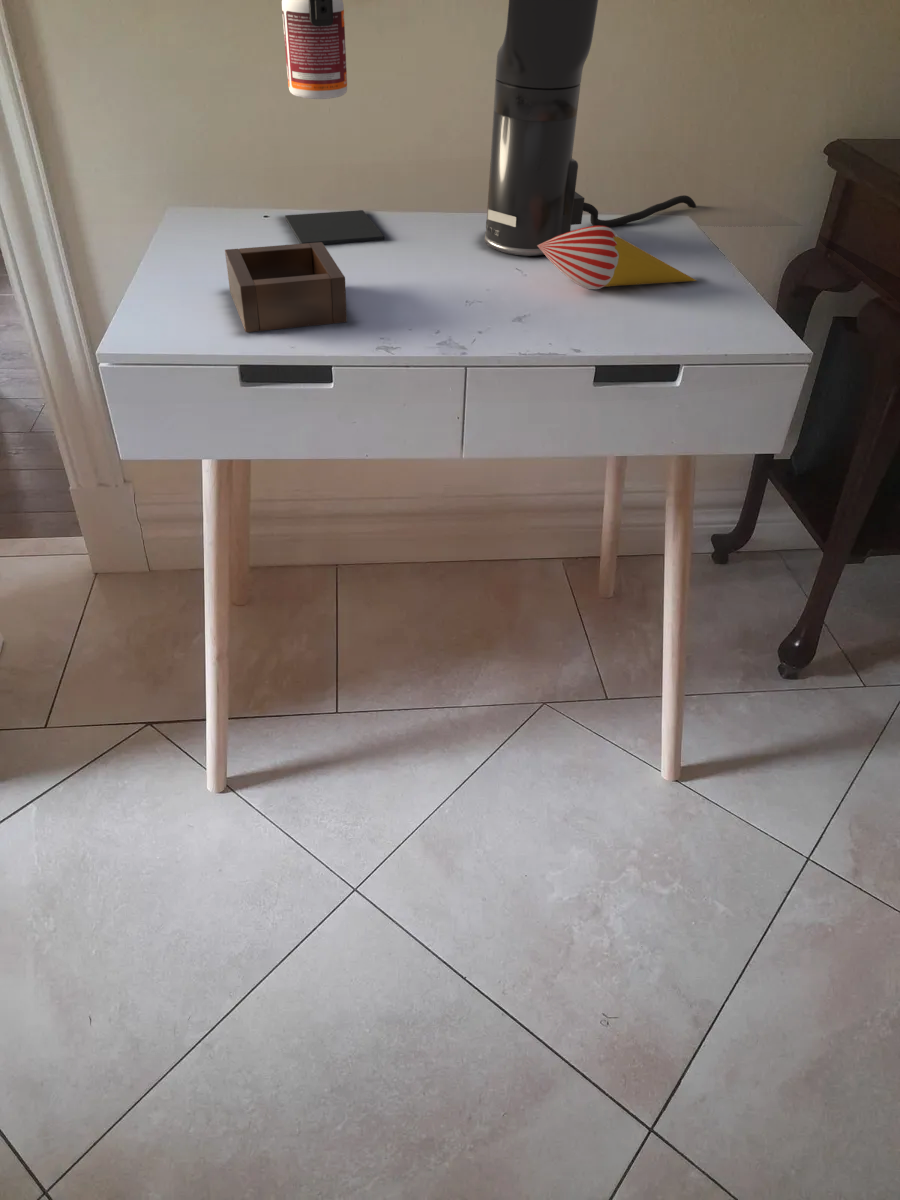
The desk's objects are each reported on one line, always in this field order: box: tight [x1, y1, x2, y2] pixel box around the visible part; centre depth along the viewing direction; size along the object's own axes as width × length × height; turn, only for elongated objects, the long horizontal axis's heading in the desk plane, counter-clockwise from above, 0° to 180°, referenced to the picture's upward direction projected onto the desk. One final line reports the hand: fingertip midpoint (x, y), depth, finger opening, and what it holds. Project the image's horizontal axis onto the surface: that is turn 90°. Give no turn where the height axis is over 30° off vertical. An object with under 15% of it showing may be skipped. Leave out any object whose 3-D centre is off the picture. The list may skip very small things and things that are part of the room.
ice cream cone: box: [537, 225, 698, 290], centre depth 96 cm, size 6×6×20 cm
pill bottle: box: [281, 0, 348, 100], centre depth 90 cm, size 6×6×11 cm
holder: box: [224, 242, 348, 333], centre depth 89 cm, size 10×10×4 cm
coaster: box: [284, 209, 385, 245], centre depth 108 cm, size 10×10×1 cm
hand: (313, 19), depth 89 cm, fingers closed on pill bottle, 6 cm apart
